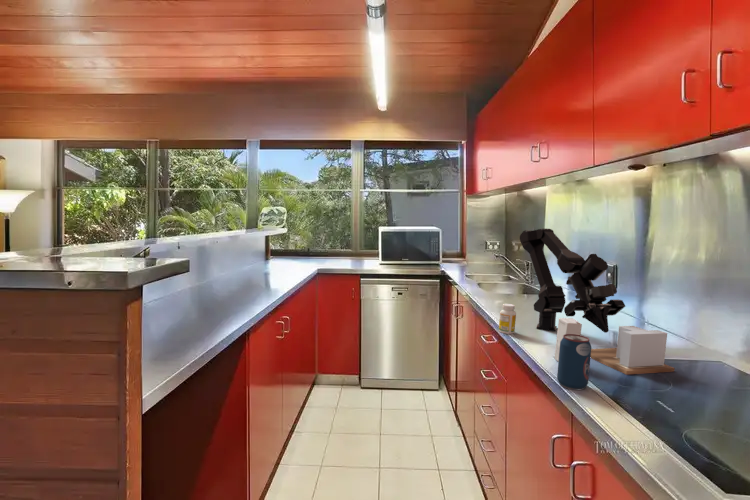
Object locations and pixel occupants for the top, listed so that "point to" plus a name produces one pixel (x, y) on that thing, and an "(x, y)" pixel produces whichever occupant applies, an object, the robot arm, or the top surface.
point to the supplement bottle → (507, 319)
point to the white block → (640, 346)
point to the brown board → (610, 359)
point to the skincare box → (566, 331)
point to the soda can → (574, 361)
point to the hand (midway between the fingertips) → (606, 331)
